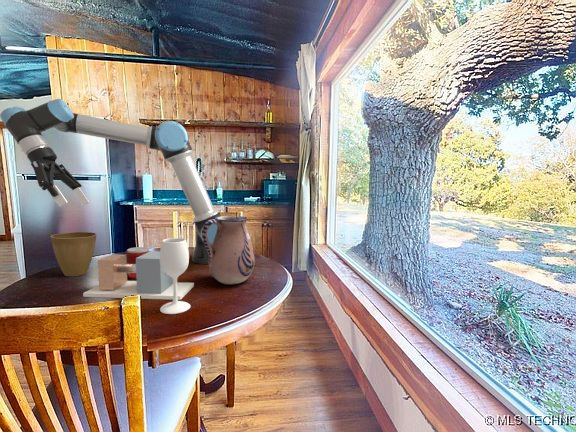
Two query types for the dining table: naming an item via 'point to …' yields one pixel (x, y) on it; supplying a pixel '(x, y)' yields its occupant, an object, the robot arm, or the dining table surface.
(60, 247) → the plant pot
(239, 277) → the ceramic pitcher
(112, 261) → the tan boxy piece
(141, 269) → the bearing block
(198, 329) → the dining table surface
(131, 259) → the canned food
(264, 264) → the dining table surface
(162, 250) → the wineglass
